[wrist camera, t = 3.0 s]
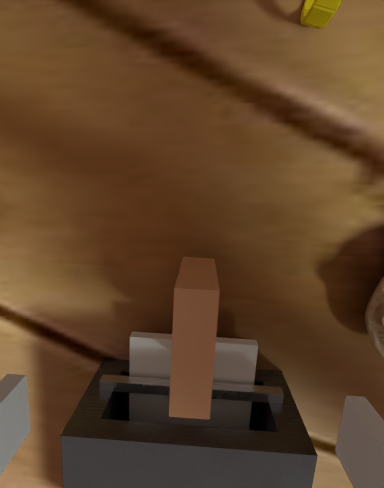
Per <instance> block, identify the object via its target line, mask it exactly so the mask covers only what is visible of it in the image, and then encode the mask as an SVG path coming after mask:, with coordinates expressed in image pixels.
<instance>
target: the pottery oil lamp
mask: <svg viewBox="0 0 384 488" xmlns="http://www.w3.org/2000/svg"><path fill="white" fill-rule="evenodd" d="M365 324H366V327H367V331H368V334H369V338H370V341H371V344H372V346H373V348H374V349H375V350H376V351H377V352H378V353H379V355H380V356H381V357H382V358H384V276H383V278H382V279H381V281H380V282H379V284H378V285H377V287H376V289H375V291H374V292H373V294H372V296H371V298H370V300H369V302H368V305H367V308H366V312H365Z"/></svg>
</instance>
